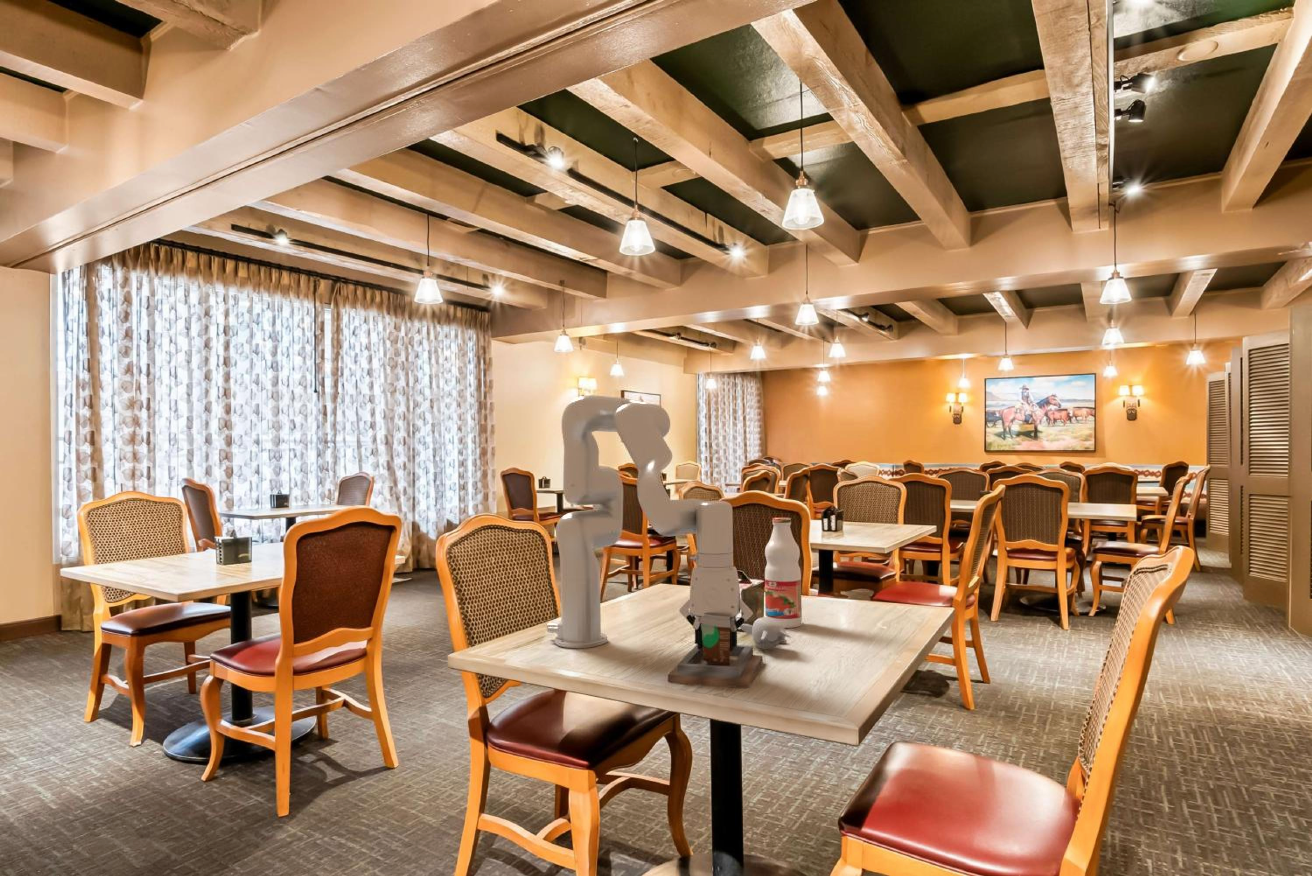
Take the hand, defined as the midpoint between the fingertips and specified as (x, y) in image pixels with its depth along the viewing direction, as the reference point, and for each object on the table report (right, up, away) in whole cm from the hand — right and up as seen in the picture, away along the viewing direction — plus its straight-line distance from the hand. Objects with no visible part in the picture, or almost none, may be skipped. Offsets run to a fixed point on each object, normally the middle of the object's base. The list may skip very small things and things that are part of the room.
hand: (716, 647), depth 150 cm
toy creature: (+13, -6, +18) cm, 23 cm away
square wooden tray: (0, -5, 0) cm, 5 cm away
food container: (-1, -3, 0) cm, 3 cm away
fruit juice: (+21, -6, +41) cm, 47 cm away
